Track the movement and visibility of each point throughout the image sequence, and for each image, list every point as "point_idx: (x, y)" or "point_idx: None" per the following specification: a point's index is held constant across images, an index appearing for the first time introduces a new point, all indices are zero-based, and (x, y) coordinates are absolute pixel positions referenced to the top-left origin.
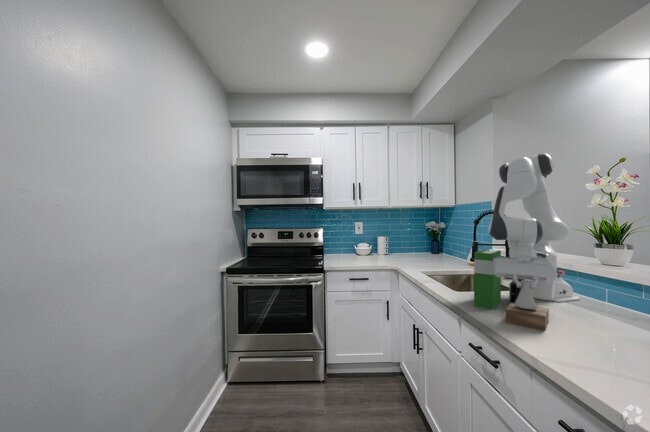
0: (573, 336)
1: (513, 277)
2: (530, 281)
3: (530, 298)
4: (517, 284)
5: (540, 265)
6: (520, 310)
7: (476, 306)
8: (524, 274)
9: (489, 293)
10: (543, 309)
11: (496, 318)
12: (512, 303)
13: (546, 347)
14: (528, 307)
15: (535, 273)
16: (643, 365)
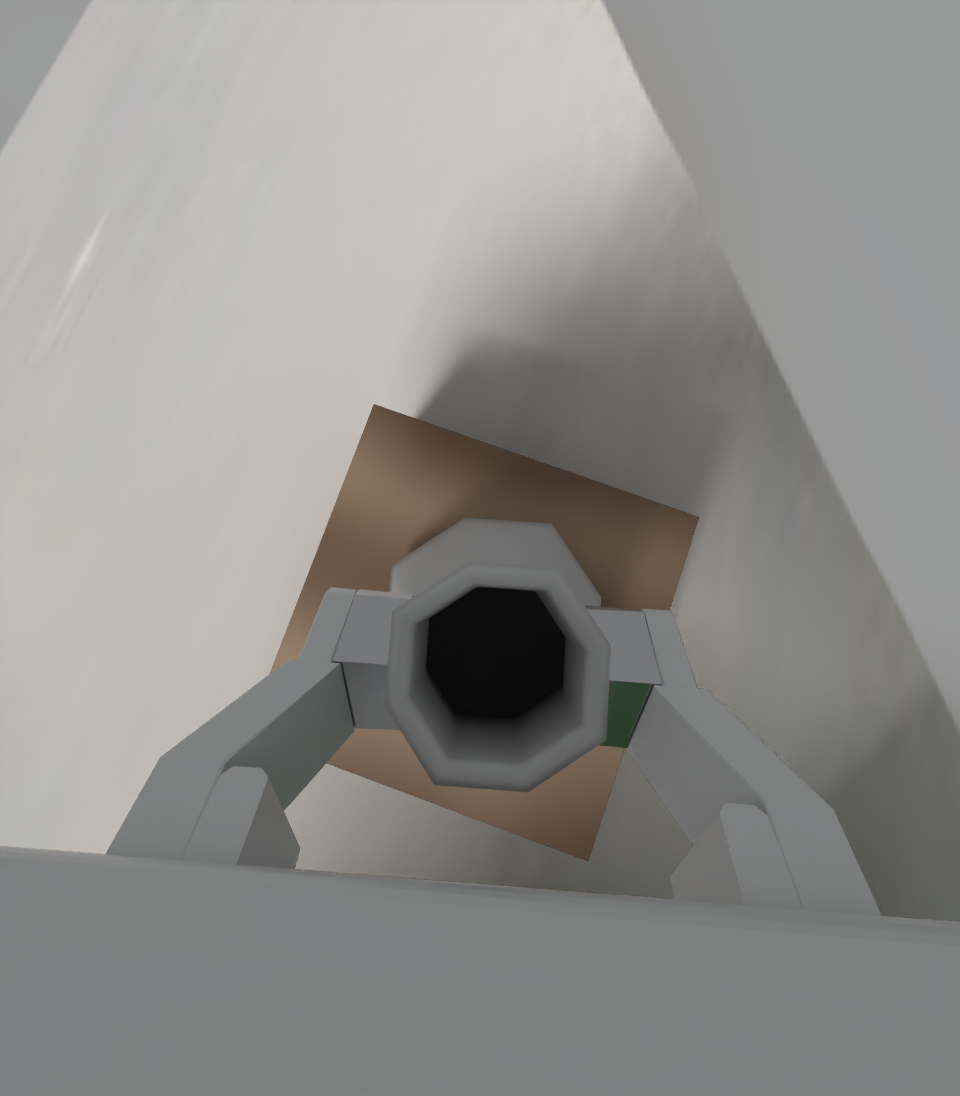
0: (237, 404)
1: (821, 798)
2: (398, 650)
3: (451, 560)
4: (671, 613)
5: None
6: (558, 532)
7: None
8: (520, 893)
9: None
10: None
11: (711, 621)
12: (588, 809)
13: (482, 126)
14: (487, 520)
15: (75, 960)
16: (52, 72)
